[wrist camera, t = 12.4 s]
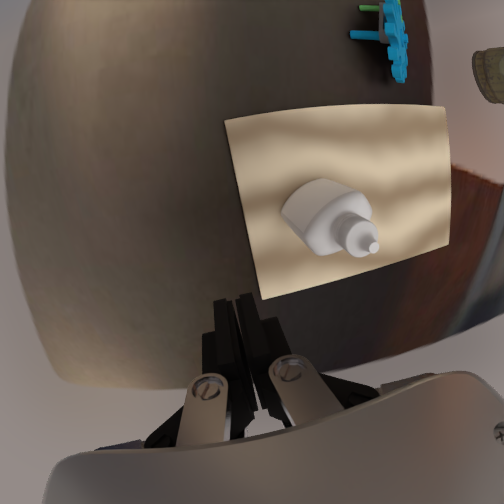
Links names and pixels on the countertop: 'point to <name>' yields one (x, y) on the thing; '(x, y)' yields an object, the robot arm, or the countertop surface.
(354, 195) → the eye dropper bottle
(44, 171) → the countertop surface
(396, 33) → the gear
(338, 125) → the beige flat sheet
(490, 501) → the robot arm
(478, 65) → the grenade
